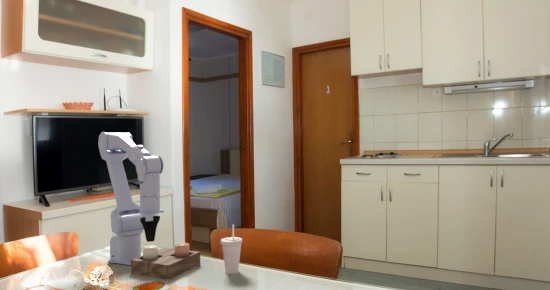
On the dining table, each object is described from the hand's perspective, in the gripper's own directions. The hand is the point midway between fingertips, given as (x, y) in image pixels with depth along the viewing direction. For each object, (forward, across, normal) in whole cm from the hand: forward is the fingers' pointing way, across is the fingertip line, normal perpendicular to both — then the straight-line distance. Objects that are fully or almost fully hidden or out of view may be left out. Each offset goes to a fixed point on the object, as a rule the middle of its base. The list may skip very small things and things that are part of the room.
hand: (150, 241), depth 117 cm
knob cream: (+5, 0, 0) cm, 5 cm away
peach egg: (+5, 0, -9) cm, 11 cm away
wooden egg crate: (+9, 0, -5) cm, 10 cm away
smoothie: (+9, -9, -23) cm, 26 cm away
